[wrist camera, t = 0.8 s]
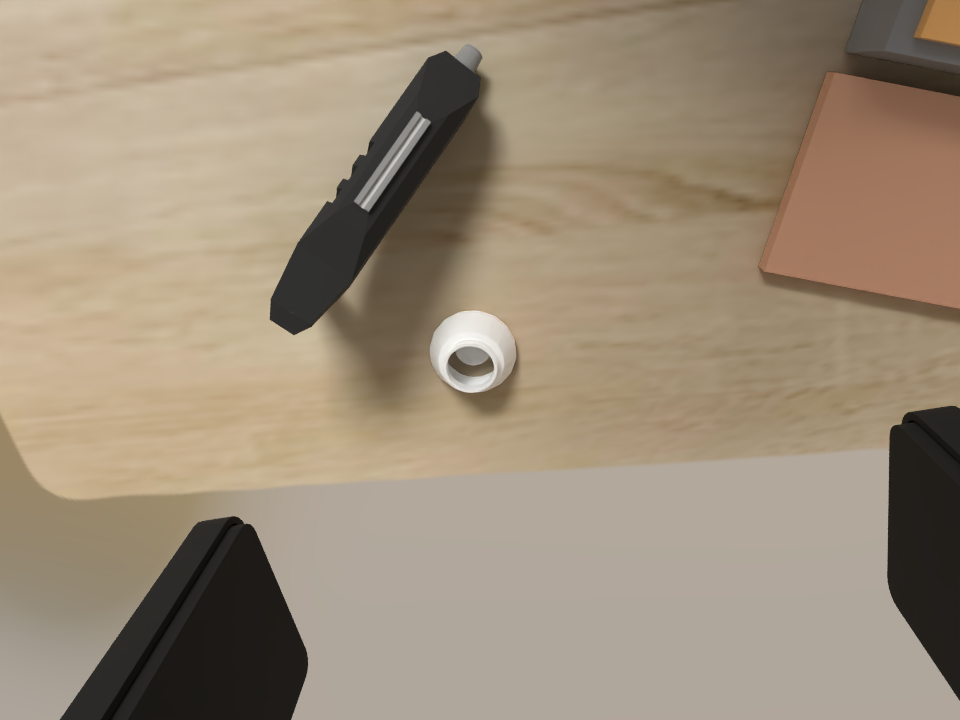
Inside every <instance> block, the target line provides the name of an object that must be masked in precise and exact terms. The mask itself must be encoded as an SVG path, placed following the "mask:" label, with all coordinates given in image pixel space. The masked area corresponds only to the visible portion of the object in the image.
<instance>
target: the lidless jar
mask: <svg viewBox="0 0 960 720" xmlns="http://www.w3.org/2000/svg"><path fill="white" fill-rule="evenodd" d="M429 350H430V356H431V363H432V366H433V367H434V369H435V371H436V372H437V374H438V375H439V377H440V378H441V379H442V380H443V381H445V382H446V383H447V384H449V385H450V386H451V387H453V388H455V389H457V390H460V391H462V392H467V393H476V392H484V391H487V390H489V389H492V388H494V387H496V386H498V385H500V384H501V383H502V382H503V381H504V380H505V379H506V378H507V377H508V376H509V375H510V373H511V372H512V369H513V366H514V363H515V360H516V346H515V339H514V337H513V336H512V334H511V332H510V330H509V328H508V327H507V325H506V324H504V323H503V322H502V321H500V320H499V319H498V318H497V317H495V316H494V315H491V314H488V313H485V312H481V311H478V310H474V311H462V312H458V313H456V314H454V315H452V316H450V317H448V318H446V319H445V320H444V321H443V322H442V323H441V324H440V326H439V327H438V328H437V329H436V330H435V331H434V334H433V338H432V342H431V345H430V349H429ZM454 351H456V354H457V356H458V358H459V359H460V360H461V361H462V362H463V363H465V364H468V365H479V364H482V363H484V362H485V361H486V360H487V359H488V358H489V356H490V357H491V359H492V361H493V364H494V371H492V372H490V373H488V374H486V375H484V376H476V377H470V376H466V375H463V374H460V373H459V372H457V371H456V370H455V369H453V368H452V367H451V366H450V365H449V363H448V359H449V357H450V355H451V354H452V353H453V352H454Z"/></svg>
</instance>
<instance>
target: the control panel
mask: <svg viewBox="0 0 960 720" xmlns="http://www.w3.org/2000/svg"><path fill="white" fill-rule="evenodd" d="M845 52H847V53H852V54H857V55H863V56H868V57H873V58H878V59H883V60H888V61H893V62H898V63H903V64H908V65H914V66H919V67H924V68H929V69H934V70H939V71H944V72H949V73H954V74H959V75H960V0H863V2H862V5H861V8H860V10H859V13H858V16H857V19H856V21H855V24H854V27H853V30H852V33H851V35H850V38H849V41H848V44H847V47H846V49H845Z"/></svg>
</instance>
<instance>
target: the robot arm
mask: <svg viewBox="0 0 960 720" xmlns="http://www.w3.org/2000/svg"><path fill="white" fill-rule="evenodd" d="M888 511H889V513H888V514H889V515H888V571H887V578H888V585H889V590H890V593H891V596H892V598H893V601H894V603H895V604H896V606H897V608H898V609H899V611H900V612H901V614H902V615H903V617H904V618H905V619H906V621H907V623H908V624H909V626H910V627H911V629H912V630H913V632H914V633H915V635H916V636H917V638H918V639H919V640H920V642H921V644H922V645H923V647H924V648H925V650H926V651H927V653H928V654H929V655H930V657H931V658H932V660H933V661H934V663H935V664H936V666H937V667H938V669H939V670H940V672H941V673H942V675H943V676H944V678H945V679H946V681H947V682H948V684H949V685H950V687H951V688H952V690H953V691H954V693H955V694H956V696H957V697H958V699H959V700H960V409H959V408H958V407H956V406H947V407H940V408H934V409H927V410H921V411H914V412H908V413H907V414H905V415H904V417H903V420H902V424H900V425H894V426H893V427H892V428H891V431H890V447H889V509H888ZM307 669H308V657H307V652H306V648H305V646H304V644H303V641H302V639H301V637H300V634H299V632H298V630H297V628H296V625H295V623H294V620H293V618H292V615H291V613H290V611H289V609H288V606H287V604H286V601H285V599H284V597H283V594H282V592H281V590H280V587H279V585H278V583H277V580H276V578H275V576H274V573H273V571H272V568H271V566H270V564H269V562H268V559H267V557H266V554H265V552H264V550H263V547H262V545H261V543H260V540H259V538H258V536H257V533H256V531H255V529H254V528H253V527H252V526H251V525H250V524H244V523H243V521H242V520H241V519H240V518H238V517H235V516H232V517H227V518H219V519H213V520H206V521H202V522H198V523H197V524H196V525H195V526H194V527H193V529H192V530H191V532H190V533H189V534H188V536H187V537H186V539H185V540H184V542H183V543H182V545H181V546H180V547H179V549H178V551H177V552H176V553H175V555H174V556H173V558H172V559H171V560H170V562H169V563H168V565H167V566H166V568H165V569H164V571H163V572H162V573H161V575H160V576H159V578H158V579H157V581H156V582H155V583H154V585H153V586H152V588H151V589H150V591H149V592H148V594H147V595H146V597H145V598H144V600H143V601H142V602H141V604H140V605H139V607H138V608H137V609H136V611H135V612H134V614H133V615H132V617H131V618H130V620H129V621H128V623H127V624H126V625H125V627H124V628H123V630H122V631H121V633H120V634H119V636H118V637H117V638H116V640H115V641H114V643H113V644H112V645H111V647H110V648H109V650H108V651H107V653H106V654H105V656H104V657H103V658H102V660H101V661H100V663H99V664H98V666H97V667H96V669H95V670H94V671H93V673H92V674H91V676H90V677H89V679H88V680H87V681H86V683H85V684H84V686H83V687H82V689H81V690H80V692H79V693H78V694H77V696H76V697H75V699H74V700H73V702H72V703H71V705H70V706H69V707H68V709H67V710H66V712H65V713H64V715H63V716H62V718H61V719H60V720H291V718H292V715H293V712H294V710H295V707H296V704H297V701H298V698H299V695H300V692H301V689H302V687H303V684H304V681H305V678H306V674H307Z"/></svg>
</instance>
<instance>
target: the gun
mask: <svg viewBox="0 0 960 720" xmlns="http://www.w3.org/2000/svg"><path fill="white" fill-rule="evenodd" d="M481 59H482V55H481V53H480V52H479V51H478V50H477V49H476V48H475V47H473V46H472V45H468V44H467V45H465V46H464V47H463V48H462V49H461V51H460V52H459V53H458V54H457V55H456V56H455V57H453V56H452V55H451V54H450V53H448V52H447V51H444V52H442V53H439V54H437V55H434V56H432V57H429V58H428V59H427V60H426V62H425V63H424V65H423V66H422V67H421V69H420V70H419V72H418V73H417V75H416V76H415V77H414V79H413V80H412V82H411V83H410V84H409V86H408V87H407V89H406V90H405V92H404V93H403V94H402V96H401V97H400V99H399V100H398V101H397V103H396V104H395V106H394V107H393V109H392V110H391V111H390V113H389V114H388V116H387V117H386V119H385V120H384V121H383V123H382V124H381V126H380V127H379V128H378V130H377V131H376V133H375V134H374V136H373V137H372V138H371V140H370V142H369V147H368V151H367V154H366V156H364V155H359V157H358V158H357V160H356V161H355V163H354V164H353V167H352V174H351V177H350V179H349V180H346V179H343V180H342V181H341V182H340V184H339V185H338V187H337V195H336V199H335V200H334V201H333V203H331V202H328V201H327V202H326V204H325V205H324V207H323V208H322V209H321V211H320V212H319V214H318V215H317V217H316V218H315V219H314V221H313V222H312V224H311V225H310V226H309V228H308V229H307V231H306V232H305V234H304V235H303V236H302V238H301V239H300V241H299V242H298V244H297V246H296V248H295V250H294V252H293V254H292V256H291V258H290V260H289V262H288V264H287V266H286V269H285V271H284V273H283V275H282V277H281V279H280V281H279V283H278V285H277V287H276V289H275V291H274V294H273V296H272V298H271V307H270V320H271V321H273V322H274V323H276V324H277V325H279V326H281V327H282V328H284V329H285V330H287V331H288V332H290V333H291V334H293V335H295V334H297V333H299V332H302V331H304V330H306V329H308V328H310V327H312V326H313V324H314V323H315V322H316V321H317V320H318V319H319V318H320V317H321V316H322V315H323V314H324V313H325V312H326V311H327V310H328V309H329V308H330V307H331V306H332V305H333V304H334V303H335V302H336V301H337V300H338V299H339V298H340V296H341V295H342V294H343V293H344V292H345V291H346V290H347V289H348V288H349V287H350V285H351V284H352V283H353V281H354V280H355V278H356V277H357V275H358V274H359V272H360V271H361V270H362V268H363V267H364V265H365V264H366V262H367V261H368V259H369V258H370V256H371V255H372V254H373V252H374V251H375V249H376V248H377V246H378V245H379V243H380V242H381V240H382V239H383V238H384V236H385V235H386V233H387V232H388V230H389V229H390V227H391V226H392V224H393V223H394V222H395V220H396V219H397V217H398V216H399V214H400V213H401V211H402V210H403V208H404V207H405V206H406V204H407V203H408V201H409V200H410V198H411V197H412V195H413V194H414V192H415V191H416V190H417V188H418V187H419V185H420V184H421V182H422V181H423V179H424V178H425V177H426V175H427V174H428V172H429V171H430V169H431V168H432V166H433V165H434V163H435V162H436V161H437V159H438V158H439V156H440V155H441V153H442V152H443V150H444V149H445V147H446V146H447V145H448V143H449V142H450V140H451V139H452V137H453V136H454V134H455V133H456V131H457V130H458V129H459V127H460V126H461V124H462V123H463V121H464V120H465V118H466V116H467V115H468V113H469V111H470V110H471V108H472V106H473V105H474V103H475V101H476V100H477V98H478V96H479V88H480V80H481V78H480V77H479V76H478V75H476V74H475V71H476V69H477V67H478V65H479V63H480V61H481Z"/></svg>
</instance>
